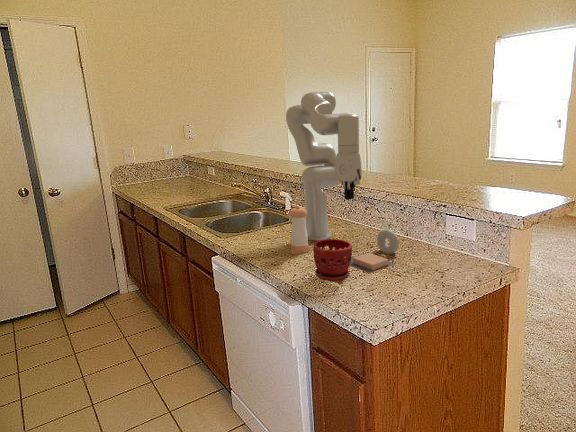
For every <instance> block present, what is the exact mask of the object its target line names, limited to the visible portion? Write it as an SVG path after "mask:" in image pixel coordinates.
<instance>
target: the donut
mask: <svg viewBox="0 0 576 432" xmlns="http://www.w3.org/2000/svg"><path fill="white" fill-rule="evenodd" d="M386 239H388V242H389V244H388V243H387V241H386ZM376 243H377V246H378V248H379V250H380V251H381V252H382V253H384V254H387V255H393V254H395V253H397V251H398V249H399V246H400V242H399V238H398V236H397V234H396V233H395V232H394V231H393V230H391V229H389V228H386V229H385V228H384V229H381V230H380V231H379V232H378V234H377V237H376Z"/></svg>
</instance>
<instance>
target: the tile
mask: <svg viewBox="0 0 576 432" xmlns="http://www.w3.org/2000/svg"><path fill="white" fill-rule="evenodd" d="M362 254H363V255H360V254H359V255H360V256H357V255H355V256H356V257H354V256H352V257H353V263H355V264H357V265H360V266H363V267H365V268H368V269H370V270H375V269H378V268H381V267H384V266H387V265H389V262H390V261H389V260H390V259H388V258H385V257H383V256H380V255H376V254H375V253H370V252H367V253H366V252H365V254H364V253H362Z"/></svg>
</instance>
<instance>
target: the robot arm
mask: <svg viewBox="0 0 576 432" xmlns="http://www.w3.org/2000/svg"><path fill="white" fill-rule="evenodd" d="M336 105H337V100H336V97H335V95H334V94H333V93H332V92H330V91H315V92H314V91H313V92H311V91H310V92H307V93H305V94H303V96H302V98H301V100H300V104H296V105H292V106H290V107H288V108H287V111H286V112H285V113H286V115H285V120H286V121H285V122H286V124H287V127H288V131H289V132H290V134H291V135H292V137H293V140H294V142H295V145H296V150H297V153H298V157H299V160H300V162H301V164H302V165H303V166H305V167H306V168H305V169H304V170H302V173H301V180H302V181H301V182H302V185H303V190H304V202H305V209H306V211H307V215H306V216H305V222H306V230H307V235H308V241H320V240H325V239H331V237H332V236H333V235H332V233H331V232H330V231H329V226H328V225H329V223H328V222H329V221H328V201H327V199H328V198H327V196H326V194H325V193H324V192H323V190H322V189H324V188H332V187H336V186H339V185H340V184H342V187H343V191H344V194H343V195H344V200H346V201H348V200H349V201H350V200H354V199H355V191H354V190H355V188H356V186H358V185H360V184H361V182H360V181H361V180H362V176H363V175H362V172H363V171H362V169H363V168H362V161H361V155H360V137H359V136H360V122H359V121H360V119H359V116H358V114H354V113H353V114H352V113H350V114H349V113H346V112H345V113H343V112H342V113H333V112H334V111H335V109H336V107H337V106H336ZM305 125H310V127H311V128H312V129H313V131H314V132H316V133H317V134H318V135H321V136H330V135H331V136H333V135H337V153H336V150H335V148H334V146H333V145H332V144H330V143H327V142H320V143H317V142H316V141H315V137H314V135H313V133H312V132H311V130H309V128H308V127H306V126H305Z"/></svg>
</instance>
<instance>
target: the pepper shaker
mask: <svg viewBox="0 0 576 432" xmlns="http://www.w3.org/2000/svg"><path fill="white" fill-rule="evenodd" d="M288 214H289V216H290V217H291V234H290V235H291V236H290V237H291V238H290V239H291V244H290V250H291V251H290V252H291V253H290V254H292V255H294V256H296V255H297V256H299V255H304V254H306V253H309V252H310V245H309V244H310V243H309V240H308V235H307V230H306V215H307V211H306V208H304V207H301V206H300V205H298V206H297V205H296V207H294V208H291V209H290V211H289V213H288Z"/></svg>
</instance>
